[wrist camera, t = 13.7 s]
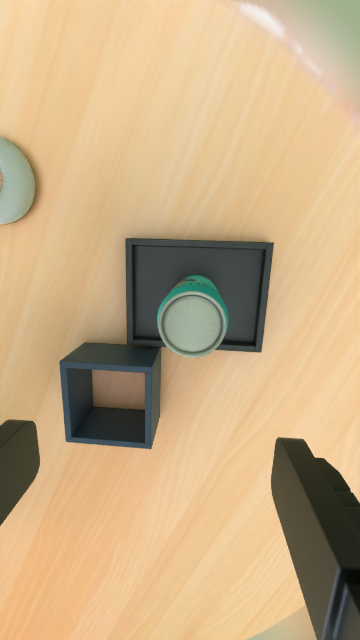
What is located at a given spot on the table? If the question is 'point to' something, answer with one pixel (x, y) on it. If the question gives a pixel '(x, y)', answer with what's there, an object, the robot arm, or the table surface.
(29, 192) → the donut
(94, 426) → the caddy
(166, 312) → the beverage can
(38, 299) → the table surface
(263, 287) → the tray
